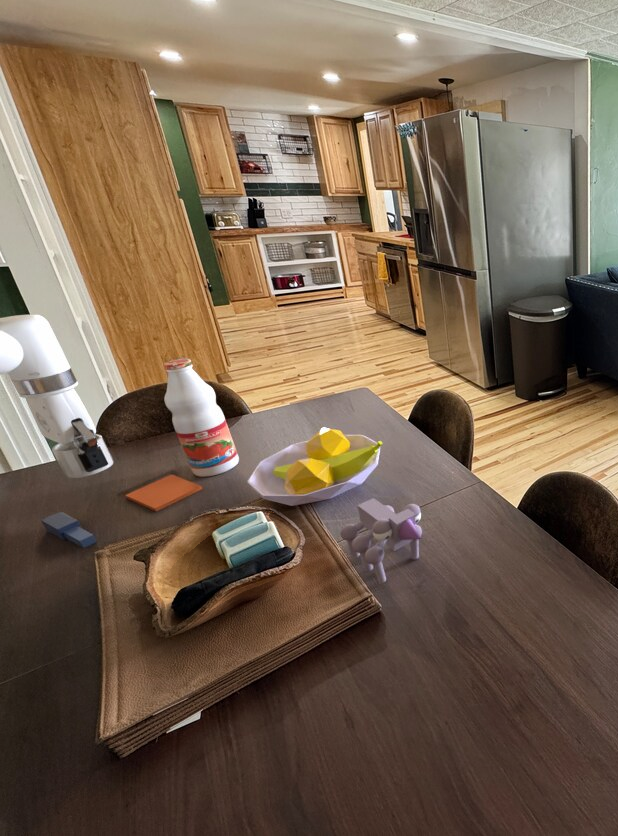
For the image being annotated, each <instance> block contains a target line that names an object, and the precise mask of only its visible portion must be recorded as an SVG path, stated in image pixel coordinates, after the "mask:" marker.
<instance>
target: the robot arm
mask: <svg viewBox="0 0 618 836" xmlns="http://www.w3.org/2000/svg"><path fill="white" fill-rule="evenodd" d="M4 374H7V376H8V378H9V380H10V382H11V383H12V385H13V387H14V389H15V391H16V393H17V394H18V396H19V397H20V398H23V399H25V402H26V403H27V405H28V408H29V410H30V413H31V414H32V417H33V419H34V422H35V424H36V425H37V427H38V430H39V432H40V434H41V435H42V437H44V438H46V439H48V440H50V441H53V442H54V443H56V445H57V444H59V443H60V444H65V445H67V444H69V442H72V443H73V445H74V446H75V448H76V449H77V450H78V452H79V453H80V454H78V457H79V459H80V461H81V463H82V464H83V466H84V468H85V470H86V471H87V472H92V471H94V470H97V469H99V468H102V467H104V466H107V465H108V462H107V460H106V458H105V456H104V454H103V452H102V450H101V447H100V445H99V444H98V442H97V440H96V437H95V435H94V434H97V428H96V426H95V424H94V422H93V420H92V417H91V416H90V414H89V412H88V410H87V408H86V407H85V405H84V403H83V402H82V399H81V397H80V396H79V395H78V393H77V391H76V390H75V387H77V386H78V385H79V381H78V379H77V378H76V375H75V373H74V372H73V369H72V367H71V366H70V364H69V361H68V359H67V357H66V354H65V352H64V350H63V348H62V346H61V344H60V342H59V341H58V338H57V336H56V334H55V333H54V330H53V328H52V326H51V324H50V322H49V321H48V320H47V319H46V318H45V317H44V316H42V315H39V314H18V315H11V316H4V317H0V375H4ZM78 436H82V437H80V438H77V439H74V437H78ZM83 440H84V443H82V446H81V445H80V444H79V442H80V441H83Z"/></svg>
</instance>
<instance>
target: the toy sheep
mask: <svg viewBox="0 0 618 836" xmlns="http://www.w3.org/2000/svg"><path fill="white" fill-rule="evenodd" d="M357 510H358V516H359V520H360V521H358V522H357V523H347V524H345V525H344V526H343V527H341V529H340V532H339V533H340V537H341V539H342V540H343V541H346V542H347V545H348V548H349V552H350V555H351V559H353V560H354V559H357V558H359V557H360V558H361V562H362V566H363V569H364V572H366V573H368V572H371V571H373V570H374V573H375V576H376V581H377V584H380V585H381V584H384V583H386V581H387V576H386V573H385V569H384V566H383V562H382V561H383V560H384V557H385V551H384V548H385V546H387V547H388V548H390V549H391V550H392V551H393V552H395V551H397V550H399V549H401V548H403V547H404V546H406V545H408V544H410V559H411V560H418V559H420V558H419V557H420V553H419V550H420V549H419V545H420V544H419V540H422V537H421V536H422V534H423V530H422V527H421V526H420V525H418V523H419V522H420V520H421V519H422V518H421V517H422V513H421V508H420V507H419V505H417V504H415V503H409V504H407V505H405V506H404V507H403V509H402V511H400V512H398V513H396V512H395V509H394V508H393V506H391V505H387V504H386V505H385V504H383V503H382V502H380V501H378V500H377V499H376V498H375V497H373V498H371V499H368V500H366V501H364V502H361V503H359V504H358V505H357ZM364 528H365V529H367V530H368V532H367V533H366V534H364V535H363V534H361V535H359V534H360V531H361V530H363V529H364ZM373 539H375V540H377V541H376V544H375V545H374V546H371V545H372V544H371V543H372V540H373Z"/></svg>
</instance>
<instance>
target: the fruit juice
mask: <svg viewBox="0 0 618 836" xmlns="http://www.w3.org/2000/svg"><path fill="white" fill-rule="evenodd" d="M193 366H194V365H193V362H192V360H191V359H190V358H178V359H172V360H169V361H166V362H164V363H163V369H164V371H165V372H167V384H166V385H167V386H166V392H165V394H164V400H163V401H164V404H165V407H166V408H167V409H168V411H170V412H171V414H172V418H171V421H172V425H173V428H174V431H175V433H176V436H177V438H178V441H179V443H180V445H181V448H182V451H183V453H184V455H185V458H186V460H187V462H188V465H189V467H190V471H191V472H192V473H193V475H195V476H197V477H201V478H203V477H204V478H206V477H213V476H217V475H220V474H223V473H225V472H228V471H230V470H231V469H233V468H235V467H236V466H237V465H238V464H239V463H240V457H239V454H238V450H237V448H236V445H235V443H234V440H233V437H232V434H231V432H230V429H229V425H228V423H227V421H226V417H225V415H224V412H223V410H222V408H221V407H220V406H219V405H218V404H217V395H216V392H215V389H214V388H213V387H212V386H211V385H210V384H208V383H206V382H205V381H204V379H202V377H201V376H200V375H199V374H198V373H197V372H196V371H195V370H194V369H193Z"/></svg>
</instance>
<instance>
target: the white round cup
mask: <svg viewBox="0 0 618 836" xmlns="http://www.w3.org/2000/svg"><path fill="white" fill-rule="evenodd" d="M94 435H95V437H96V440H97V442H98V444H99V445H100V447H101V450H102V452H103V454H104V456H105V458H106V460H107V462H108V465H107V466H104V467H102V468H99V469H97V470H94V471H92V472H87V471H86V470H85V468H84V466H83V464H82V463H81V461H80V459H79V457H78V454H80V453H79V452H78V450H77V449H76V448H75V446H74V445H73V443H72V442H69V444H67V445H65V444H60V443H59V444H57V443H56V444H55V445H54V446H52V448H51V451H52V453H53V455H54V457H55V459H56V461H57V463H58V466H60V468H61V470H62V472H63V474H64V475H65V476H66V477H67V478H68V479H79V478H86V477H89V476H92V475H96V474H98V473H100V472H103V471H105V470H107V469H109V468H110V467H112V466H113V465H114V459H113V456H112V454H111V453H110V451H109V448H108V446H107V444H106V442H105V440H104V438H103V436H102V435H101V434H97V433H95V434H94ZM80 437H82V436H81V435H78V436H77V437H74V439H77V438H80ZM82 443H84V440H83V441H80V442H79V444H80V445H81V446H82Z"/></svg>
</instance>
